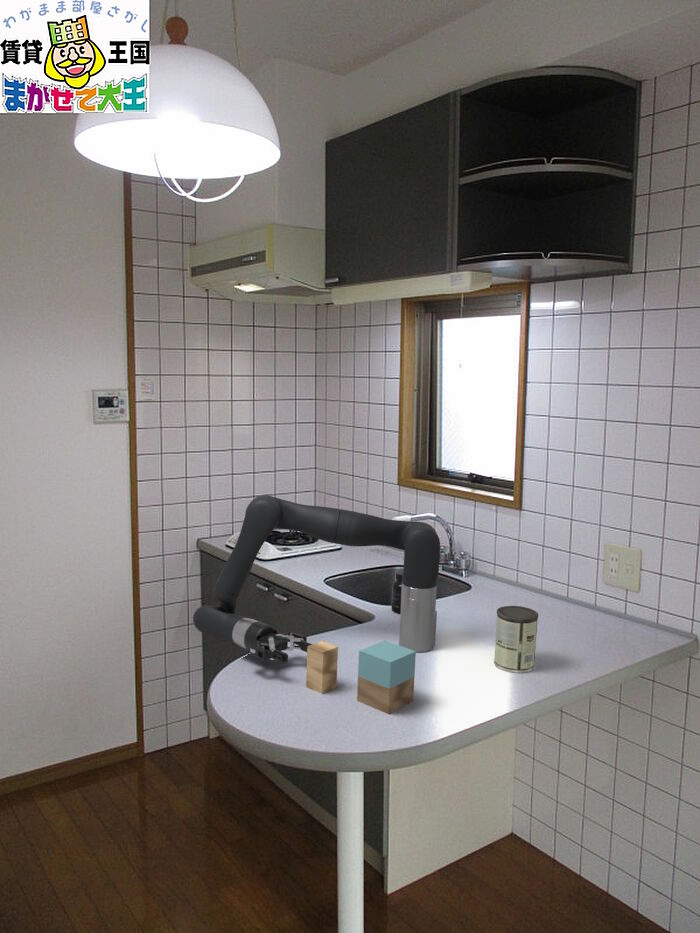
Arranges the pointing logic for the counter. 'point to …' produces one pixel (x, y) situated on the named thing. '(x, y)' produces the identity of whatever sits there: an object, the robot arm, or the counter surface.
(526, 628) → the coffee can
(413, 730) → the counter surface
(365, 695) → the walnut base block
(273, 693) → the counter surface
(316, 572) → the counter surface
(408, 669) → the teal top block
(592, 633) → the counter surface
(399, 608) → the supplement bottle
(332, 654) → the oak block
